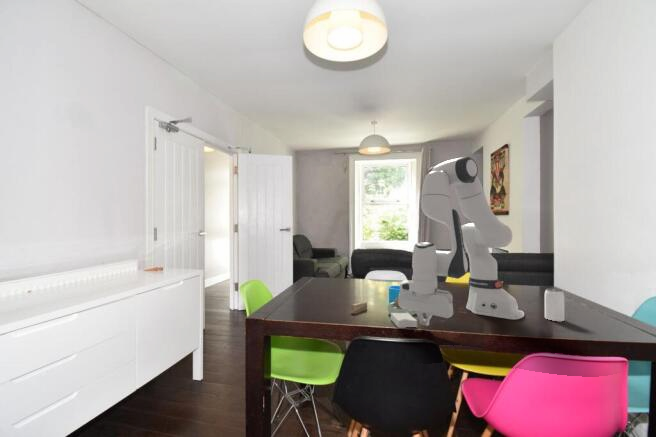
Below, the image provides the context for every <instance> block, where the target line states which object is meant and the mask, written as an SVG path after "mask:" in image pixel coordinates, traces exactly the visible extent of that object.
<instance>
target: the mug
mask: <svg viewBox="0 0 656 437" xmlns="http://www.w3.org/2000/svg"><path fill="white" fill-rule="evenodd" d="M400 290H402V289H400V285H390V286H388V304H389V303H392V302H394V300H395V299H396V298H398V297H399V292H400Z"/></svg>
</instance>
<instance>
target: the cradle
mask: <svg viewBox="0 0 656 437" xmlns="http://www.w3.org/2000/svg"><path fill="white" fill-rule="evenodd" d="M387 308H388V315H390V316H391V313H409V314H410V315H411V316H412V317H413V316H414V315H417V311H413V310H409V309H405V308H397V307H396V306H395V304H394V302H392V303H389V302H388V307H387Z"/></svg>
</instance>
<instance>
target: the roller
mask: <svg viewBox="0 0 656 437" xmlns="http://www.w3.org/2000/svg"><path fill="white" fill-rule="evenodd" d="M398 299H399V297H398V298H396V299H395V300H394V304H395V306H396V307H397V308H401V307H400V306H399V304H398Z"/></svg>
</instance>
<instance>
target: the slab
mask: <svg viewBox="0 0 656 437" xmlns="http://www.w3.org/2000/svg"><path fill="white" fill-rule="evenodd" d="M390 320H391V321H392V323H393V324H394V325H395V326H396V327H397V328H398V329H407V328H406V327H416V328H418V320H417V319H416V318H415V317H413V315H412V316H411V315H410V314H409V313H391V315H390Z"/></svg>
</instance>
